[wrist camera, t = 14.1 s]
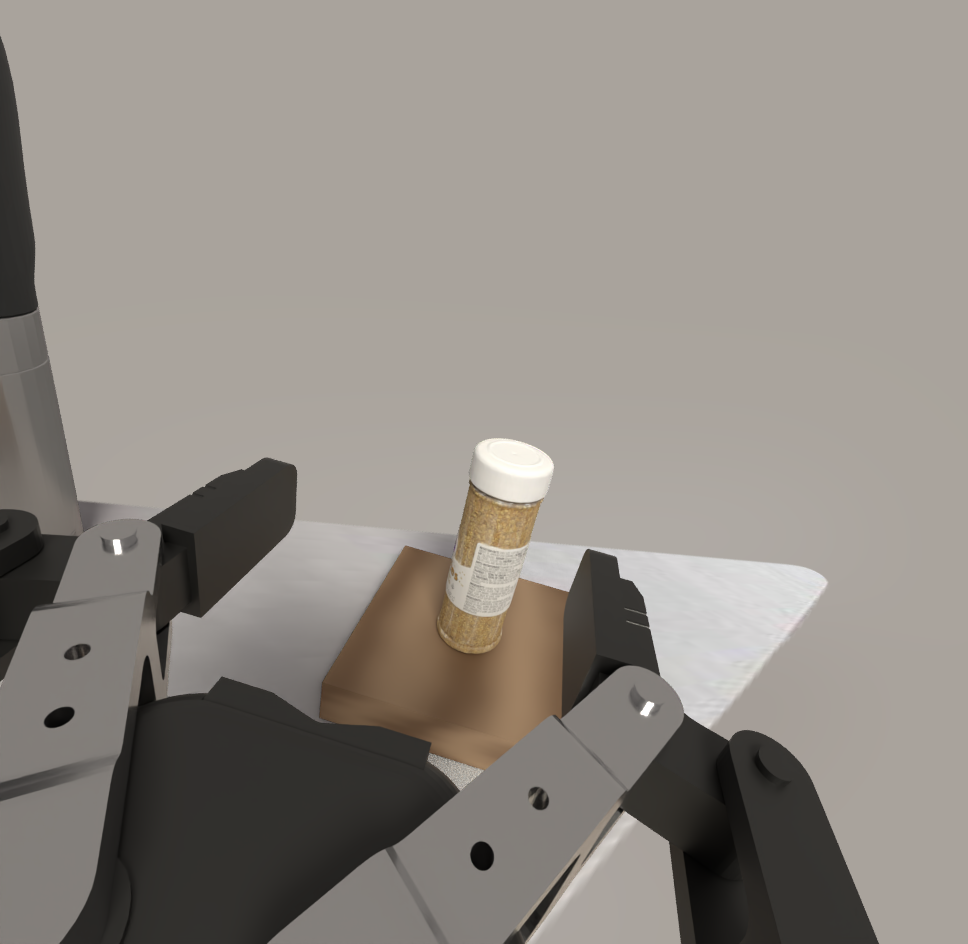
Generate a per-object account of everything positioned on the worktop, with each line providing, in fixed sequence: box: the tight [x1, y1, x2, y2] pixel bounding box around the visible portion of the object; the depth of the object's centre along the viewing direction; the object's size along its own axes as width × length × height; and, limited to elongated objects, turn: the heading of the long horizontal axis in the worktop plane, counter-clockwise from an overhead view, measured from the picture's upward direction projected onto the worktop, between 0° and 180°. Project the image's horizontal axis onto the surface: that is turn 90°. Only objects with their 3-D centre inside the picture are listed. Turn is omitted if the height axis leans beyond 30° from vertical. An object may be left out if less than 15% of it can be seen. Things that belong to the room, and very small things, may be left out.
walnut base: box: [319, 546, 569, 770], centre depth 32 cm, size 14×14×3 cm
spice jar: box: [437, 438, 554, 654], centre depth 28 cm, size 5×5×14 cm
